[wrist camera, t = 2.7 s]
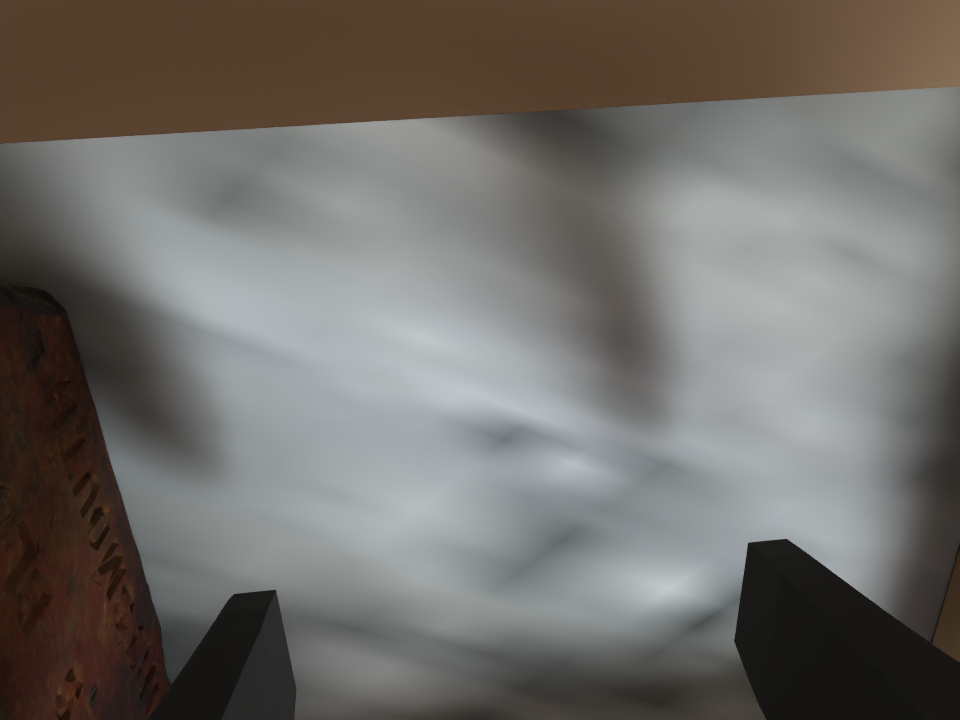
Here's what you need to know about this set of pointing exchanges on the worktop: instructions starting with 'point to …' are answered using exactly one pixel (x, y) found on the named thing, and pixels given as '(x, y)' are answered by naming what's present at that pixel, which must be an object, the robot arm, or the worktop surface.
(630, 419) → the worktop surface
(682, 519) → the worktop surface
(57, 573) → the brick
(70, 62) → the wooden frame
